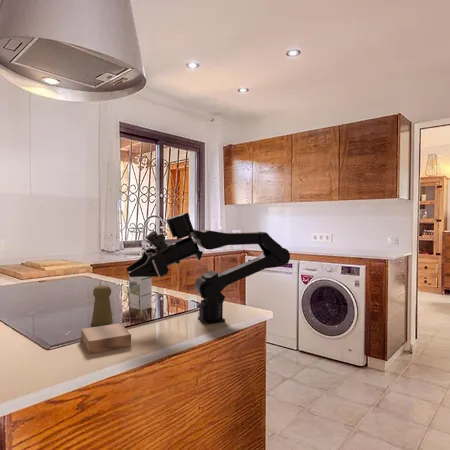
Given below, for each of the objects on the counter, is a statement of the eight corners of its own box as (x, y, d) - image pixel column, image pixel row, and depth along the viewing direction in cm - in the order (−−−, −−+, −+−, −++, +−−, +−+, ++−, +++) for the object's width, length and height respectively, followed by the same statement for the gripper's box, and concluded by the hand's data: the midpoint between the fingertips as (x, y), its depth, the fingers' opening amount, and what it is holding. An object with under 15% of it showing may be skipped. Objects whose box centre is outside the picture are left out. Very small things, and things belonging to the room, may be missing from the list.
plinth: (120, 334, 97) (120, 323, 97) (131, 346, 88) (131, 334, 88) (81, 340, 92) (81, 328, 92) (88, 353, 83) (88, 341, 83)
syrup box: (152, 307, 124) (152, 266, 124) (139, 311, 119) (140, 268, 119) (140, 304, 127) (140, 264, 127) (128, 308, 122) (128, 266, 122)
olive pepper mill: (105, 326, 103) (106, 288, 103) (87, 324, 105) (87, 287, 104) (116, 319, 109) (116, 284, 109) (98, 318, 110) (98, 283, 110)
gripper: (163, 225, 114) (116, 243, 109) (174, 228, 96) (118, 250, 92) (175, 257, 115) (129, 276, 111) (188, 265, 98) (134, 289, 93)
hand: (128, 272), depth 102 cm, fingers open, 9 cm apart
